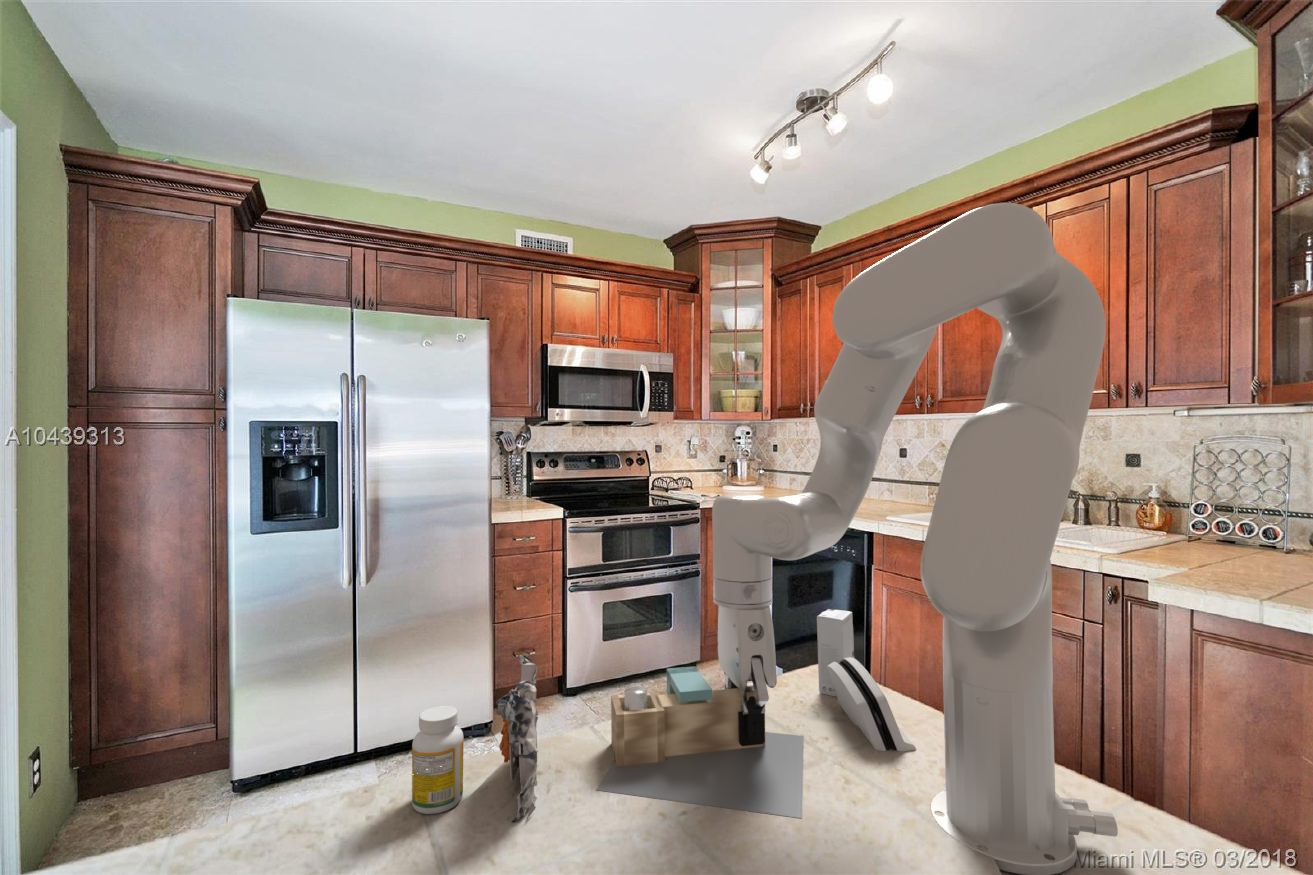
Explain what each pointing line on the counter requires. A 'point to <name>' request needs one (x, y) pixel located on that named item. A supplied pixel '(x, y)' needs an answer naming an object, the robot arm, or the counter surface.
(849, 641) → the skincare box
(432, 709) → the supplement bottle
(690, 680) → the bracket
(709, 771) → the plate
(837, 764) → the counter surface
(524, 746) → the meal
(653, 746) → the wooden block with hole
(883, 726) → the white slotted curved device
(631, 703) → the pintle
